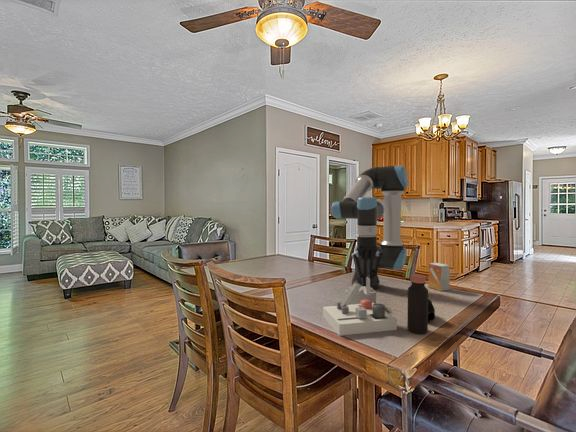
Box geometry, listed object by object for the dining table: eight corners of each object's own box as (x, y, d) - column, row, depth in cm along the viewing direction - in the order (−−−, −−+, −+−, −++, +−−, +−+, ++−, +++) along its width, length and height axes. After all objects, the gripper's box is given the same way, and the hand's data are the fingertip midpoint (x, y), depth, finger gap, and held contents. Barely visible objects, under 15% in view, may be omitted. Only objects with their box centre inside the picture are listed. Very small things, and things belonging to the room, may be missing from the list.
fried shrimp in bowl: (419, 313, 113) (393, 286, 130) (423, 334, 118) (397, 305, 134) (441, 303, 114) (412, 277, 130) (444, 324, 119) (416, 296, 135)
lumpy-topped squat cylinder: (378, 309, 131) (378, 289, 131) (348, 310, 131) (348, 290, 130) (370, 301, 141) (370, 283, 141) (342, 302, 141) (343, 283, 141)
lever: (342, 308, 120) (359, 281, 121) (345, 311, 117) (363, 283, 118) (338, 305, 120) (355, 278, 121) (341, 308, 117) (358, 280, 118)
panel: (373, 312, 128) (373, 297, 128) (396, 329, 110) (396, 312, 110) (323, 316, 123) (323, 301, 123) (339, 335, 106) (339, 317, 105)
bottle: (431, 334, 107) (432, 277, 106) (412, 335, 106) (413, 278, 105) (421, 326, 113) (422, 273, 112) (403, 326, 113) (404, 273, 112)
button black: (381, 317, 116) (381, 303, 115) (387, 321, 111) (387, 307, 111) (370, 318, 115) (370, 304, 114) (376, 322, 110) (376, 308, 110)
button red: (368, 312, 125) (369, 298, 125) (374, 315, 121) (374, 302, 121) (359, 312, 125) (359, 299, 124) (363, 316, 120) (363, 303, 120)
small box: (428, 287, 164) (428, 263, 163) (436, 285, 166) (437, 262, 166) (440, 291, 156) (441, 266, 156) (449, 289, 159) (450, 265, 158)
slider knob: (363, 315, 113) (363, 307, 113) (366, 318, 110) (366, 310, 110) (355, 315, 113) (355, 307, 113) (359, 318, 110) (359, 310, 110)
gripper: (355, 237, 116) (355, 298, 118) (386, 236, 119) (386, 295, 120) (347, 235, 124) (347, 292, 125) (377, 234, 126) (377, 289, 128)
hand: (366, 293), depth 123 cm, fingers closed
